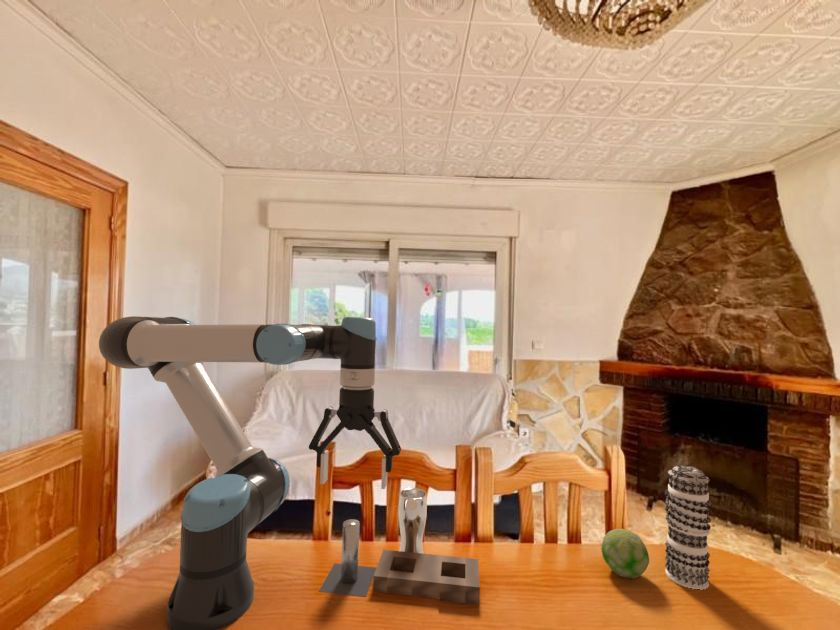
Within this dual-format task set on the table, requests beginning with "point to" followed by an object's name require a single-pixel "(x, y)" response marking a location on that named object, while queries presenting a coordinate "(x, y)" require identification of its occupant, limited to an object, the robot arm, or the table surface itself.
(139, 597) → the table surface
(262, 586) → the table surface
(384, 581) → the socket block
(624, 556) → the decorative ball
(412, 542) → the beer glass
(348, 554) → the steel peg
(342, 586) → the rubber mat
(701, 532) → the decorative candle
